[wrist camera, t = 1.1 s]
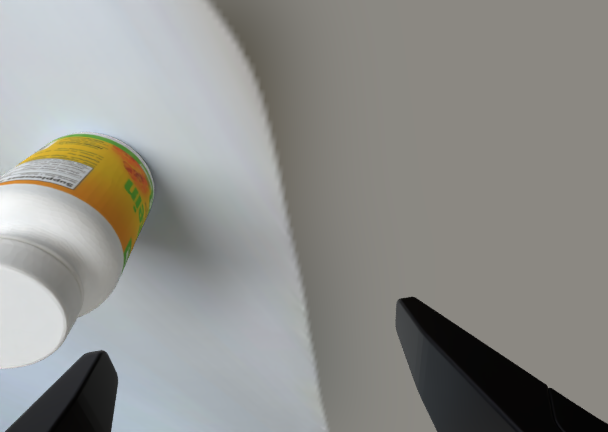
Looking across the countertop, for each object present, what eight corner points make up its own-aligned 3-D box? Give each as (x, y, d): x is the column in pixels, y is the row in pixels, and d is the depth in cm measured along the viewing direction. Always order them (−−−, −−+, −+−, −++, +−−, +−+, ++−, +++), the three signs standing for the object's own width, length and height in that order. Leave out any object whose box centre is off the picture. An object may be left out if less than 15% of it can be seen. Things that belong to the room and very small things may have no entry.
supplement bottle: (158, 231, 21) (103, 383, 12) (48, 226, 20) (-95, 390, 11) (154, 134, 18) (82, 241, 10) (28, 123, 17) (-174, 233, 9)
